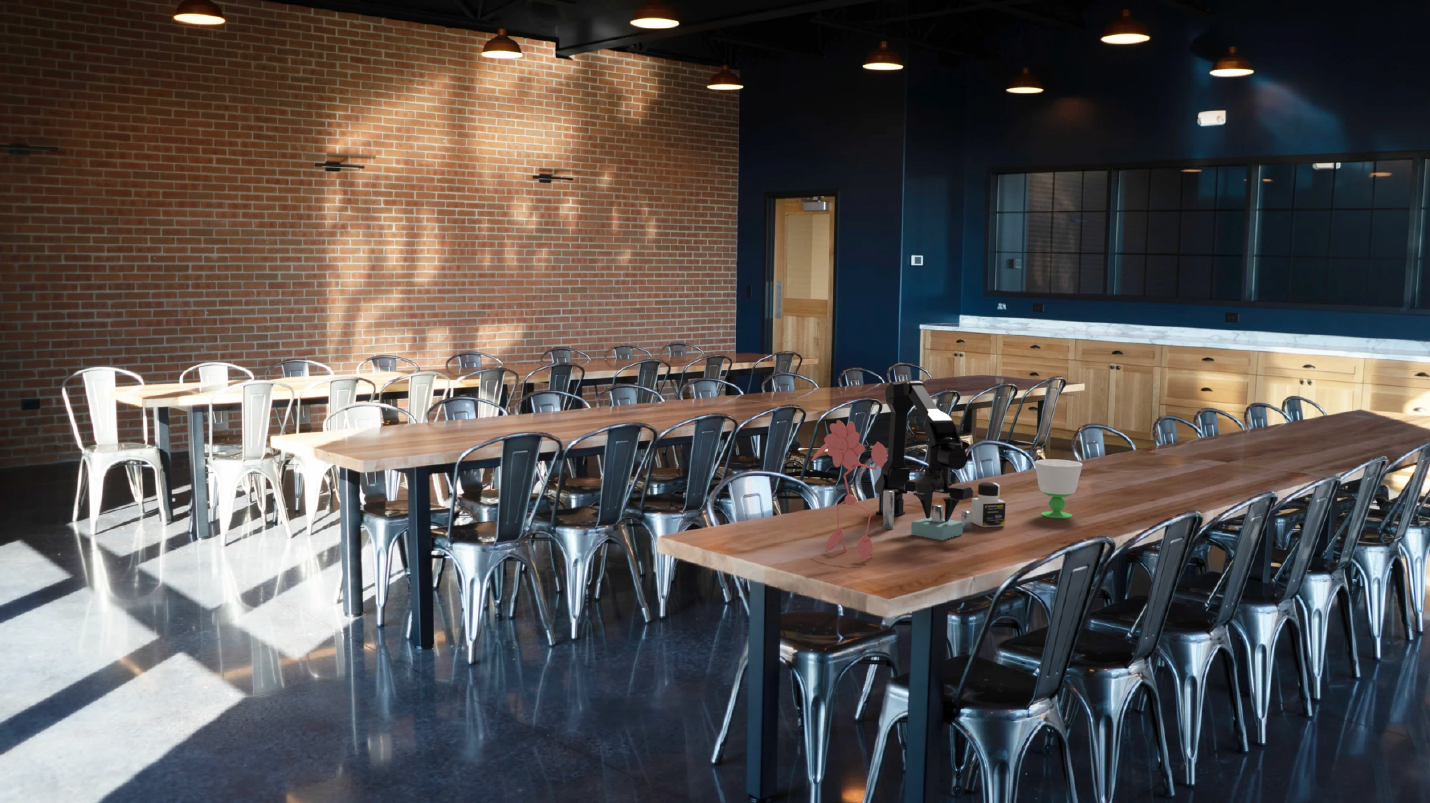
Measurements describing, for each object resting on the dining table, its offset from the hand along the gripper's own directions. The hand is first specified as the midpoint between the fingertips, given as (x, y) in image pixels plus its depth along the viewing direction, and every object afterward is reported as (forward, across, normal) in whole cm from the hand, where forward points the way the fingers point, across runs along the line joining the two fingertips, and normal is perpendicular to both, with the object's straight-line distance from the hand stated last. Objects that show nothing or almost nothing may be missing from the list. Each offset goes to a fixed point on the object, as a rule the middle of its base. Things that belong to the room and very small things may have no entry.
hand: (937, 520), depth 317 cm
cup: (+4, +11, +48) cm, 49 cm away
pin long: (+4, -14, -3) cm, 15 cm away
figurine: (+4, -2, -41) cm, 41 cm away
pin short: (+4, +2, +12) cm, 13 cm away
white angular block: (+4, +3, +22) cm, 23 cm away
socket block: (+4, 0, 0) cm, 4 cm away
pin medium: (+4, 0, 0) cm, 4 cm away
